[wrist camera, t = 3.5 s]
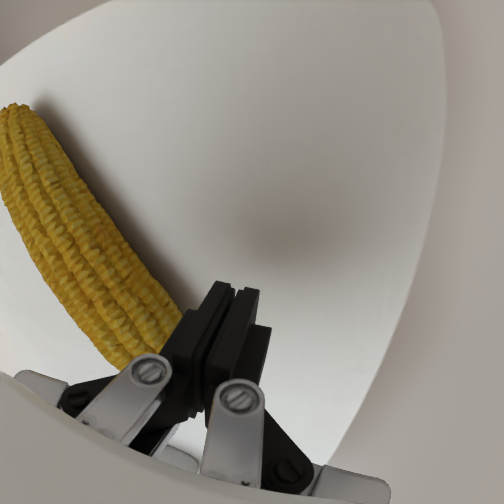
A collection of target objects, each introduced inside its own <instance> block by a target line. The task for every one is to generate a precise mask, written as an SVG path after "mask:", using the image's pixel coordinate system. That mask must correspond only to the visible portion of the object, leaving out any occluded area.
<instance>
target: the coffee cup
mask: <svg viewBox="0 0 504 504" xmlns="http://www.w3.org/2000/svg"><path fill="white" fill-rule="evenodd" d="M157 460H159V461H162V462H165V463H167V464H170V465H173V466H176V467H178V468H181V469H184V470H187V471H190V472H193V473H197V471H198V469H197V465H198V462H197V461H196V460H195V459H194V458H193V457H191V456H190V455H188V454H186V453H185V452H183V451H180V450H178V449H176V448H173V447H170V446H167V445H166V446H165V448H164V449H163V451H162V452H161V454H160V455H159V456H158V458H157Z"/></svg>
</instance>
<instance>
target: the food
mask: <svg viewBox="0 0 504 504" xmlns="http://www.w3.org/2000/svg"><path fill="white" fill-rule="evenodd" d="M0 113H1V114H0V191H1V195H2V200H3V201H4V205H5V206H7V209H8V211H9V213H10V215H11V218H12V222H13V223H14V225H15V227H16V229H17V231H19V233H20V235H21V237H22V240H23V242H24V244H25V246H26V248H27V250H28V252H29V254H30V257H31V258H32V260H33V262H34V263H35V265H36V267H37V268H38V270H39V272H40V273H41V274H42V277H43V279H44V281H45V282H46V283H47V285H48V286H49V287H50V289H51V290H52V292H53V293H54V294H55V295H56V297H57V298H58V299H59V302H60V303H61V304H63V306H64V307H65V309H66V311H67V312H68V314H69V315H70V316H71V317H72V318H73V320H74V321H75V322H76V323H77V325H78V327H79V328H81V330H82V332H84V333H85V334H86V335H87V336H88V337H89V338H90V340H91V341H92V342H93V344H94V346H95V347H96V348H97V349H98V351H99V352H100V353H101V354H102V355H103V356H104V358H105V359H106V360H107V361H108V362H109V363H111V364H112V365H113V366H114V367H116V368H117V369H118V370H120V371H122V370H123V369H124V367H125V366H126V365H127V364H128V363H129V362H130V361H131V360H133V359H134V358H135V357H137V356H140V355H142V354H157V355H158V354H159V352H160V351H161V349H162V348H163V346H164V345H165V343H166V341H167V340H168V338H169V337H170V335H171V334H172V332H173V331H174V329H175V328H176V326H177V325H178V323H179V321H180V320H181V318H182V317H183V315H182V313H181V311H179V310H178V309H177V308H178V306H177V305H176V304H175V303H174V302H173V300H172V299H171V297H170V296H169V294H168V293H167V291H166V290H165V289H164V288H163V287H162V285H161V284H160V283H159V282H158V281H157V279H154V278H153V277H152V276H151V275H150V272H149V271H148V270H147V268H146V267H145V265H144V264H143V263H142V262H141V260H140V259H139V258H138V256H137V254H136V253H135V252H134V251H133V249H132V248H131V247H130V245H129V243H128V242H127V241H126V240H125V239H124V237H123V236H122V234H121V233H120V231H119V230H118V229H117V228H116V226H115V224H114V222H113V221H112V219H111V218H110V217H109V215H108V214H107V213H106V210H105V209H103V208H102V207H101V204H99V203H97V202H96V200H95V197H94V195H93V194H91V193H90V190H89V189H87V184H86V183H84V181H83V179H82V178H80V177H79V175H78V174H77V172H76V170H75V168H74V165H73V163H71V162H70V159H69V157H67V154H65V152H64V150H63V149H62V147H61V145H60V144H59V142H58V141H57V140H56V139H55V136H54V135H53V134H52V132H51V131H50V129H49V127H47V125H46V123H45V122H44V121H43V119H42V118H41V117H39V116H38V115H37V114H36V112H35V111H32V110H30V107H29V106H27V105H24V104H22V105H21V106H18V104H17V103H16V102H15V103H14V104H10V105H9V106H8V108H7V109H6V108H5V107H3V109H2V110H1V111H0Z"/></svg>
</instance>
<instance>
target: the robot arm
mask: <svg viewBox="0 0 504 504" xmlns="http://www.w3.org/2000/svg"><path fill="white" fill-rule="evenodd" d="M259 293H260V290H258V289H254V288H249V287H245V288H244V290H240V289H239V290H238V292H237V294H236V296H235V288H231V284H230V283H225V282H220V281H215V283H214V284H213V286H212V287H211V289H210V291H209V292H208V294H207V296H206V297H205V299H204V300H203V302H202V304H201V305H200V307H199V309H198V310H197V311H196V310H193V309H188V310H187V311H186V312H185V314H184V315H183V317H182V318H181V320H180V321H179V323H178V325H177V326H176V328H175V329H174V331H173V332H172V334H171V335H170V337H169V338H168V340H167V341H166V343H165V345H164V346H163V348H162V349H161V351H160V352H159V354H158V355H157V354H142V355H140V356H137V357H135V358H134V359H133V360H131V361H130V362H129V363H128V364H127V365H126V366H125V367H124V369H123V370H122V371H121V372H120V373H119V374H117V375H113V376H109V377H105V378H101V379H97V380H92V381H88V382H83V383H78V384H75V385H72V386H69V385H68V383H67V382H64V381H61V380H58V379H55V378H51V377H48V376H45V375H43V374H40V373H37V372H34V371H31V370H22V371H20V372H18V373H17V374H16V375H15V376H14V378H13V377H11V376H9V375H8V374H6V373H4V372H1V371H0V504H389V502H390V498H391V490H390V487H389V485H388V484H387V483H386V482H385V481H384V480H381V479H379V478H375V477H370V476H366V475H362V474H358V473H353V472H350V471H345V470H342V469H338V468H335V467H331V466H328V465H324V466H320V465H317V464H314V463H311V461H310V460H309V458H308V457H307V456H306V455H305V454H304V453H303V452H302V451H301V450H300V449H299V448H298V446H297V445H296V444H295V443H294V442H293V441H292V440H291V439H290V437H289V436H288V435H287V434H286V433H285V432H284V431H283V429H282V428H281V427H280V426H279V425H278V424H277V422H276V421H275V420H274V419H273V418H272V417H271V415H270V414H269V413H268V412H267V411H266V409H265V398H264V393H263V392H262V390H261V388H260V387H259V382H260V378H261V374H262V370H263V366H264V363H265V358H266V354H267V350H268V345H269V341H270V336H271V331H272V328H271V327H266V326H261V325H256V324H255V321H256V314H257V307H258V300H259ZM204 408H205V426H206V428H207V429H208V430H207V435H206V441H205V446H204V452H203V457H202V462H201V468H200V473H199V474H197V473H193V472H190V471H187V470H184V469H181V468H178V467H176V466H173V465H170V464H167V463H165V462H162V461H159V460H157V458H158V456H159V455H160V454H161V452H162V451H163V449H164V448H165V446H166V445H167V444H168V442H169V441H170V439H171V438H172V436H173V435H174V434H175V432H176V431H177V429H178V427H179V425H180V423H181V422H184V421H187V420H188V418H189V417H191V418H194V419H195V417H196V414H197V412H201V413H202V412H203V410H204Z"/></svg>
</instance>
